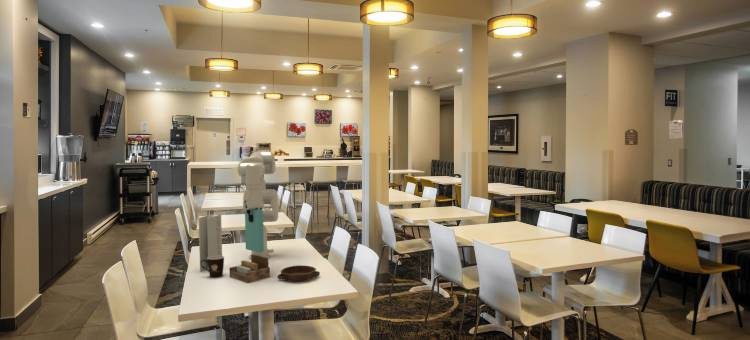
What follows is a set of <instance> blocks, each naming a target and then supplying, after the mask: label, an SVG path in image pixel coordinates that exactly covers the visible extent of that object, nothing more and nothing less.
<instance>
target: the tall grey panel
mask: <svg viewBox="0 0 750 340" xmlns="http://www.w3.org/2000/svg"><path fill="white" fill-rule="evenodd" d="M222 230H223V229H222V214H217V215H214V213H212V214H207V215H204V216H201V217H198V244H199V250H198V251H199V272H200V273H201V272H202V271H205V270H206V269H208V270H209V267H208V263H207V262H206V261H203V262H202V263H201V261H202V260H207V258H208V257H210V256H223V238H222V237H223V236H222V235H223V234H222V233H223V232H222ZM207 261H208V260H207ZM200 263H201V264H202V266H203V267H205V268H206V269H204V268H203V267H202V266H201V265H200ZM208 270H207V271H208Z"/></svg>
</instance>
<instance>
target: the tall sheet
mask: <svg viewBox="0 0 750 340" xmlns="http://www.w3.org/2000/svg"><path fill="white" fill-rule="evenodd" d="M246 209H247V210H248V208H246ZM252 215H253V222H249V218H248V214H247V213H246V212H245V211H244V224H245V225H244V227H245V229H244V231H245V233H244V234H245V236H244V237H245V250H249V251H255V252H263V251H264V241H263V224H264V222H263V210H259V209H252Z"/></svg>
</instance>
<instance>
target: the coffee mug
mask: <svg viewBox="0 0 750 340" xmlns="http://www.w3.org/2000/svg"><path fill="white" fill-rule="evenodd" d="M207 260H208V261H207ZM207 260H202V261H201V263H202V262H203V261H206V262H207V263H208V267H209V270H208V268H207V269H206V268H205V267H203V266H202V264H201V263H200V262H199V266H200V265H201V266H202V267H203V268H204V269H205V270H206V271H207V272H208V273H209V278H220V277H223V274H224V262H225V256H224V255H222V256H210V257H208V258H207Z"/></svg>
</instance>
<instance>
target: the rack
mask: <svg viewBox="0 0 750 340" xmlns="http://www.w3.org/2000/svg"><path fill="white" fill-rule="evenodd" d="M250 255H251V259H250V262H253V263H256V264H258V270H255V271H251V272H247V273H246V275H243V274H239V273H237V266H241V264H240V265H235V266H232V267H231V266H230V267H229V270H228V271H229V278H231V279H235V280H237V281H240V282H243V283H246V284H248V283H253V282H256V281H260V280H264V279H267V278H270V277H271V267H270V266H269V258H267V257H263V256H259V255H255V254H250Z"/></svg>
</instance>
